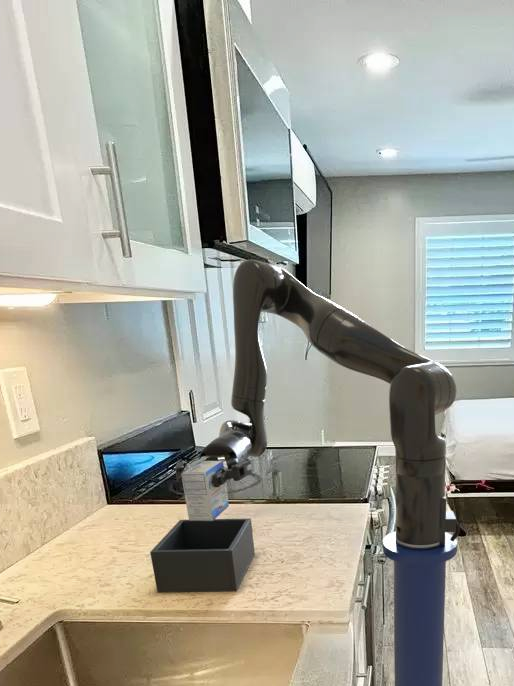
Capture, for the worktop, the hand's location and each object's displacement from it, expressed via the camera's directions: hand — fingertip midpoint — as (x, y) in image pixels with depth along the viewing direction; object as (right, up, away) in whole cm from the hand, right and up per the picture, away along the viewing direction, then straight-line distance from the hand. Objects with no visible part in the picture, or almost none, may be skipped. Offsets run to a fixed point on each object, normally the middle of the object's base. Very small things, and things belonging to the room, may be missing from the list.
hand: (199, 481), depth 96 cm
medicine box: (0, -5, +5) cm, 7 cm away
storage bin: (-1, -16, +8) cm, 18 cm away
